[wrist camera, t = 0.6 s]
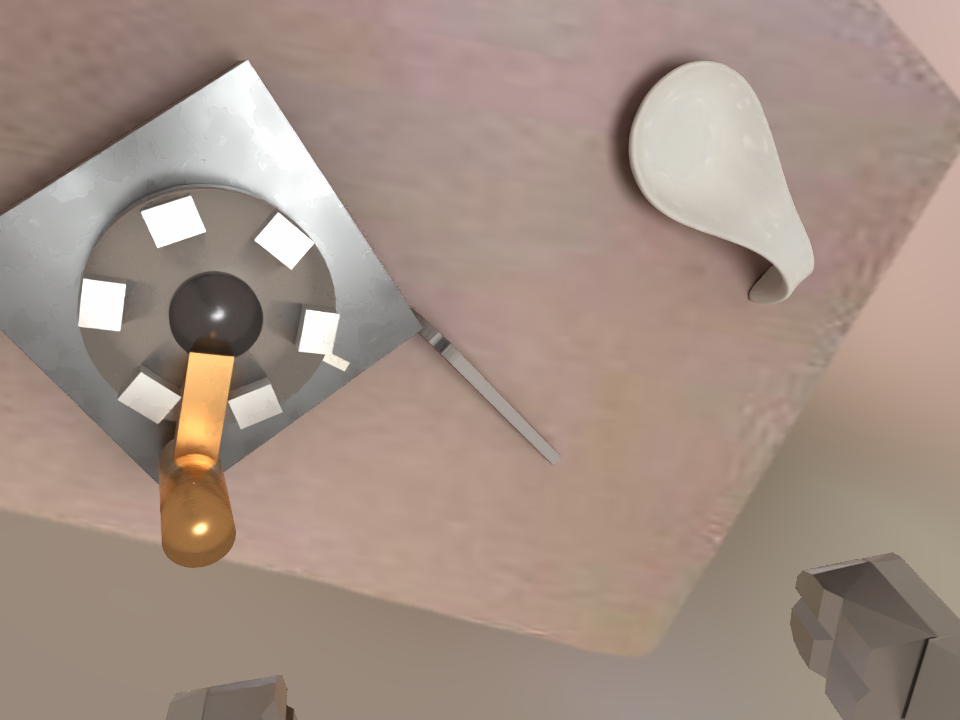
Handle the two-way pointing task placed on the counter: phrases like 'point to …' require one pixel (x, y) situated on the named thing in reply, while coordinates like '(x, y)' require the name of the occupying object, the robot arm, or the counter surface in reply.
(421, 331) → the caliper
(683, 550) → the counter surface
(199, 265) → the rotary crank dial
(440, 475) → the counter surface
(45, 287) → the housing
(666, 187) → the spoon rest
